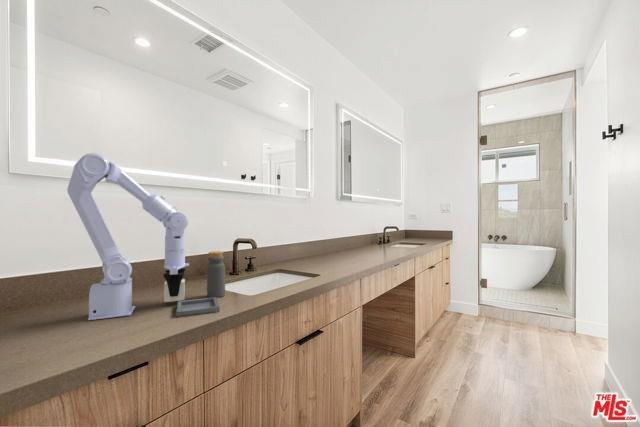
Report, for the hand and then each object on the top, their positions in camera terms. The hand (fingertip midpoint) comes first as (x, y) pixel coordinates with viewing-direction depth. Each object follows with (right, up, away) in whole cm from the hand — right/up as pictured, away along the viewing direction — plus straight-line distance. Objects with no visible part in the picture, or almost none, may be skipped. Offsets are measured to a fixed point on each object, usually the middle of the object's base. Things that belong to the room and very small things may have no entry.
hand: (174, 293), depth 90 cm
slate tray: (+10, -3, -6) cm, 12 cm away
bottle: (+10, -3, +9) cm, 14 cm away
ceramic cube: (0, -2, 0) cm, 2 cm away
